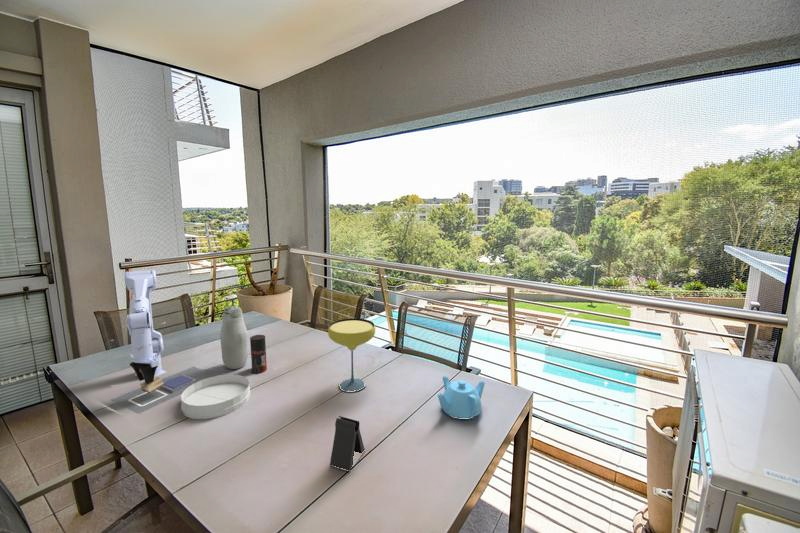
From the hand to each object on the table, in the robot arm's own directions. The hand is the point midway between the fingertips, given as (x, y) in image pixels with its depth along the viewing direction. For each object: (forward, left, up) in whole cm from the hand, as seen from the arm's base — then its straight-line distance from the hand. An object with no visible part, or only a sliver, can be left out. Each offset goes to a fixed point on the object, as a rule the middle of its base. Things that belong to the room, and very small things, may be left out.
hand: (146, 381), depth 123 cm
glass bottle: (+6, +32, -7) cm, 33 cm away
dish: (+23, +11, -8) cm, 27 cm away
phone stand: (+82, +9, -7) cm, 83 cm away
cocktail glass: (+60, +43, -7) cm, 74 cm away
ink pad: (0, +11, -6) cm, 12 cm away
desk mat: (-1, +8, -7) cm, 11 cm away
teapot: (+103, +47, -7) cm, 113 cm away
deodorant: (+17, +35, -7) cm, 40 cm away
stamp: (0, +2, -3) cm, 4 cm away
